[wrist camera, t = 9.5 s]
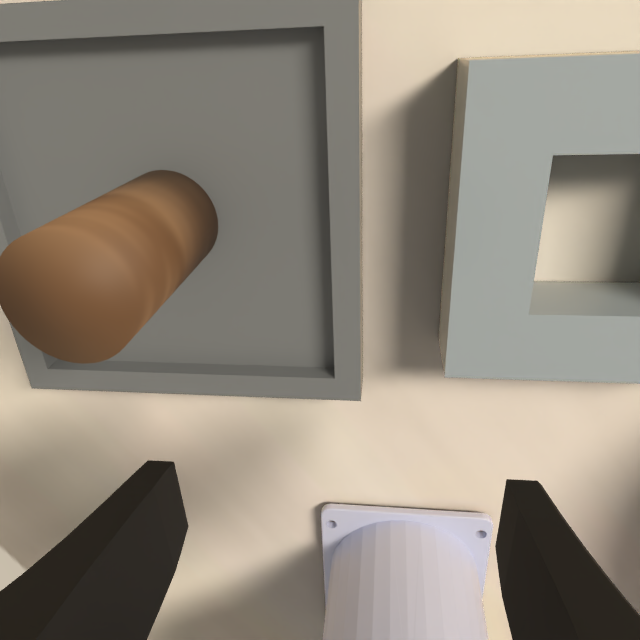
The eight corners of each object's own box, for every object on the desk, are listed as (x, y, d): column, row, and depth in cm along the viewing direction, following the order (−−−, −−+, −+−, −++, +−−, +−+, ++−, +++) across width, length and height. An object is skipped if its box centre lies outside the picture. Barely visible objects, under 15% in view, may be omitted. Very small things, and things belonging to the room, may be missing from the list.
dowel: (224, 266, 20) (147, 365, 14) (133, 266, 20) (19, 361, 14) (211, 168, 18) (118, 231, 12) (112, 171, 19) (-26, 231, 13)
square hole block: (711, 345, 20) (756, 387, 18) (438, 338, 21) (444, 377, 19) (812, 44, 15) (892, 43, 13) (458, 58, 17) (469, 60, 14)
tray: (362, 378, 22) (360, 400, 21) (52, 368, 24) (31, 388, 23) (361, -12, 16) (358, -17, 15) (-58, 12, 18) (-97, 9, 16)
